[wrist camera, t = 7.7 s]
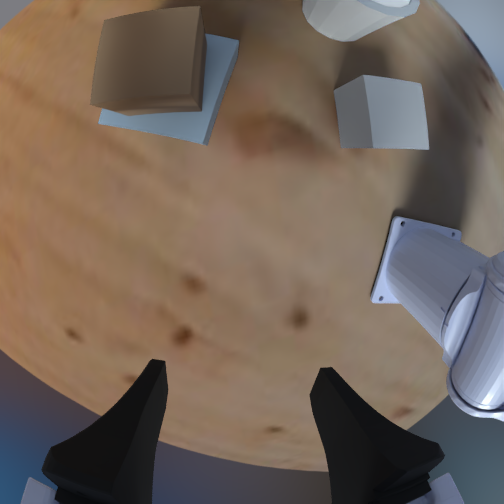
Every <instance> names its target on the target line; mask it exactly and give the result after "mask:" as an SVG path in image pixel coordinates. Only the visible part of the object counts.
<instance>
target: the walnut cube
mask: <svg viewBox="0 0 504 504" xmlns="http://www.w3.org/2000/svg"><path fill="white" fill-rule="evenodd" d="M206 53H207V40H206V35H205V30H204V24H203V19H202V14H201V8H200V6H189V7H176V8H167V9H159V10H152V11H145V12H139V13H134V14H129V15H124V16H119V17H115V18H111V19H107V20H104V24H103V28H102V32H101V37H100V41H99V46H98V51H97V57H96V63H95V69H94V76H93V84H92V93H91V103H90V105H93V106H96V107H100V108H103V109H107V110H110V111H114V112H117V113H120V114H123V115H126V116H134V115H144V114H156V113H173V112H202V102H203V88H204V75H205V63H206Z"/></svg>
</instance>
